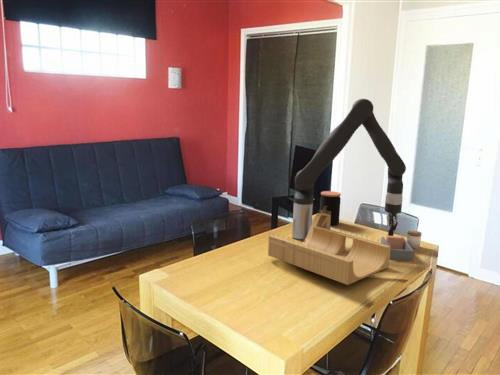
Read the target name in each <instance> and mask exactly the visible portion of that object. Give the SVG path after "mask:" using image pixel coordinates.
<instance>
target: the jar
mask: <svg viewBox="0 0 500 375" xmlns="http://www.w3.org/2000/svg"><path fill="white" fill-rule="evenodd" d="M406 233H407V236H406V242H407V243H408V244H409V245H410V247H411V248H412V249H413V250H418V249H421V239H422V232H420V231H416V230H407V231H406Z"/></svg>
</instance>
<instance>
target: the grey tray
mask: <svg viewBox="0 0 500 375" xmlns="http://www.w3.org/2000/svg"><path fill="white" fill-rule="evenodd" d="M382 239H383V240H382ZM384 242H385V245H388V246H389V244H388V243H387V241H386V237H384V236H381V238H380V243H381V244H384ZM414 250H415V249H412V248H411V247H410V245H409V244H408V243H407V239H405V238H404V242H403V250H402V249H391V250H390V261H391V260H392V261H393V260H396V261H407V262H408V261H410V262H413V261H414V256H415V251H414Z"/></svg>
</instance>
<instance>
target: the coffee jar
mask: <svg viewBox="0 0 500 375" xmlns="http://www.w3.org/2000/svg"><path fill="white" fill-rule="evenodd" d="M341 195H342V193H341V192H339V191H332V190H326V191H325V190H323V191H321V192H320V202H319V203H320V204H319V205H320V206H319V213H324V214H328V215H331V222H330V227H336V226H338V225H340V214H341V213H340V211H341ZM321 211H322V212H321ZM330 211H331V212H330Z"/></svg>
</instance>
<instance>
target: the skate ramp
mask: <svg viewBox="0 0 500 375" xmlns="http://www.w3.org/2000/svg"><path fill="white" fill-rule="evenodd" d="M321 212H322V211H321ZM330 212H331V211H330ZM330 222H331V215H328V214H324V213H320V212H317V213H316V214H315V216H314V218H313V220H312V225H311V227H310V230H309V232H308V235H307V237H306V239H302V241H301V240H300V242H302V243H300V242H298V241H294V240H295V238H292V240H290V237H289V236H288V237H287V236H285V235H281V236H283V237H281V236H279V235H280V234H279V233H277V235H275V234H271V231H268V249H267V250H268V252H267V255H268V257H272V258H274V259H276V260H279V261H282V262H285V263H288V264H290V265H294V266H295V267H299V268H301V269H304V270H307V271H309V272H312V273H315V274H317V275H319V276H323V277H325V278H328V279H330V280H334V281H336V282H338V283H342V284H344V285H347V286H348V285H351V284H353V283H356V282H357V281H360V280H362V279H365V278H368V277H369V276H371V275H373V274H376V273H378V272H380V271H382V270H385V269H388V268H389V267H390V261H391V259H390V250H391V246H388V245H385V242H384V244H381V242H379V241H380V240H379V239H380V238H379V237H378V238H377V239H376V241H375V239H374V238H376V237H375V236H373V238H372V239H371V240H369V239H367V238H368V237H369V235H366V238H364V236H365V234H364V233H358V232H355V235H353V234H348V233H349V232H346V229H344V228H343V231H344V230H345V231H344V233H343V232H342V227H341V228H340V227H339V231H338V229H337V227H336V226H334V228H332V226H330ZM334 229H335V230H334ZM347 231H350V230H347ZM358 234H359V235H358ZM356 235H357V236H356ZM362 235H364V236H362ZM284 237H286V238H284ZM362 237H363V238H362ZM347 238H348V239H352V244H351V248H350V251H349V252H348V253H346V240H347ZM382 240H383V239H382ZM388 244H389V242H388Z"/></svg>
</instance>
